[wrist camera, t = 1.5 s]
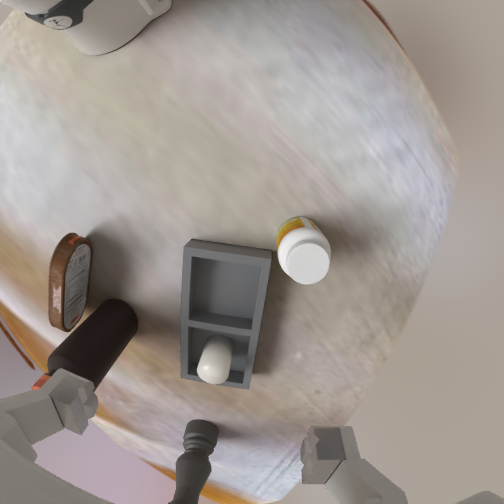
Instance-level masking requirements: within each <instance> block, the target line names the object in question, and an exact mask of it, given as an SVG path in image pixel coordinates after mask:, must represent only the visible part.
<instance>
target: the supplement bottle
mask: <svg viewBox="0 0 504 504" xmlns="http://www.w3.org/2000/svg"><path fill="white" fill-rule="evenodd" d="M276 244H277V252H278V259H279V263H280V266H281V267H282V269H283V270H284V272H285V273H286V274H287V275H289V276H290V277H292V279H294V280H295V281H296V282H298V283H301V284H314V283H317V282H319V281H320V280H322V279H323V278H324V277H325V276H326V274H327V272H328V270H329V267H330V259H331V248H330V245H329V242H328V240H327V239H326V237H325V236H324V235H323V233H322V232H321V231H320V230H319V228H318V227H317V226H316V225H315V223H313V222H312V221H311V220H309V219H307V218H304V217H294V218H291V219H288V220H287V221H285V222H284V223H283V224H282V225H281V226H280V228H279V230H278V232H277V236H276Z"/></svg>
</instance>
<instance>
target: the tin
mask: <svg viewBox="0 0 504 504" xmlns="http://www.w3.org/2000/svg"><path fill="white" fill-rule="evenodd" d="M91 261H92V245H91V243H90V242H89V240H87V239H85V238H83V237H81V236H79V235H77V234H76V233H69V234H67V235H66V236H64V237H63V238H62V240H61V241H60V242H59V243H58V245H57V246H56V248H55V250H54V253H53V255H52V258H51V261H50V266H49V282H48V317H49V322H50V324H51V325H52V326H53V327H56V328H58V329H60V330H62V331H64V332H70V331H71V330H72V329H73V328H74V326H75V325H76V324H77V323H78V322H79V320H80V319H81V317H82V315H83V312H84V309H85V306H86V302H87V294H88V285H89V277H90V269H91Z"/></svg>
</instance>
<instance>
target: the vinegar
mask: <svg viewBox="0 0 504 504" xmlns="http://www.w3.org/2000/svg"><path fill="white" fill-rule="evenodd" d="M137 329H138V321H137V317H136V315H135V313H134V311H133V310H132V309H131V308H130V307H129V306H128V305H127V304H126V303H124V302H123V301H120V300H117V299H110V300H107V301H105V302H104V303H103V304H102V305H101V306H99V307H98V308H97V309H96V310H95V311H94V312H93V313H92V314H91V315H90V316H89V317H88V318H87V319H86V320H85V321H84V322H83V323H82V324H81V325H80V326H79V327H77V328H76V329H75V330H74V331H73V332H72V333H71V334H70V335H69V336H68V337H67V338H66V339H65V340H64V341H63V342H62V343H61V344H60V345H59V346H58V347H57V348H56V349H55V350H54V351H53V352H52V354H51V355H50V356H49V358H48V371H49V373H45V374H44V375H43V376H41V378H40V379H39V380H38V381H37V382H36V383H35V384H34V385H33V387H32V390H34V389H37V390H39V389H40V388H41V387H42V386H43V385H44V384H45V383H46V382H47V381H48V379H49V378H50V377H51V376H52V375H53V374H54V373H55V372H56V371H57V370H58V369H61V368H62V369H64V370H66V371H69V372H71V373H73V374H75V375H78V376H80V377H82V378H85V379H87V380H89V381H91V382H93V384H94V387H95V389H94V390H93V392H94V391H95V390H96V388H97V387H98V386H99V384H100V383H101V381H102V380H103V378H104V377H105V375H106V374H107V372H108V371H109V370H110V368H111V367H112V365H113V364H114V362H115V361H116V360H117V358H118V357H119V355H120V354H121V353H122V351H123V350H124V348H125V347H126V346H127V344H128V343H129V341H130V340H131V339H132V337H133V336H134V335H135V333H136V331H137Z"/></svg>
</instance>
